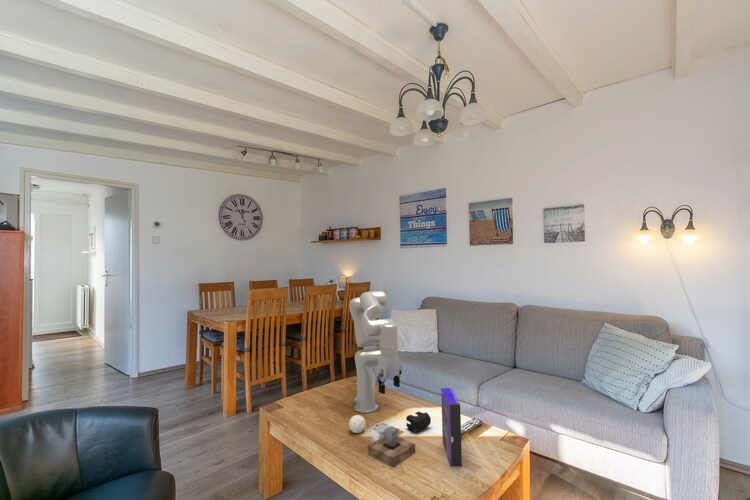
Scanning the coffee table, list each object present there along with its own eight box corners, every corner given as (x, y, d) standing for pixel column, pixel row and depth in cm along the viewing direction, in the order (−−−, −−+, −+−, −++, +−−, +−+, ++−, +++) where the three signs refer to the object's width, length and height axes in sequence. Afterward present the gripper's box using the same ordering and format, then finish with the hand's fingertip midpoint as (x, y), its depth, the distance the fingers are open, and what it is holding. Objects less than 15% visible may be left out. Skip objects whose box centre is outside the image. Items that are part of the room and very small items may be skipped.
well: (368, 454, 151) (368, 445, 151) (390, 440, 161) (390, 432, 161) (393, 467, 141) (393, 458, 141) (415, 452, 151) (415, 443, 151)
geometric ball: (360, 439, 168) (362, 430, 163) (345, 431, 170) (346, 422, 166) (367, 425, 174) (369, 416, 169) (352, 417, 176) (354, 408, 171)
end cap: (416, 435, 165) (416, 420, 165) (405, 429, 171) (405, 415, 171) (431, 428, 172) (430, 414, 172) (420, 423, 177) (420, 409, 177)
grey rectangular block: (385, 453, 151) (384, 429, 151) (391, 449, 154) (390, 425, 154) (392, 456, 148) (391, 432, 148) (398, 452, 151) (397, 428, 151)
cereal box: (442, 442, 158) (441, 388, 159) (453, 442, 158) (452, 387, 158) (449, 466, 141) (447, 404, 141) (461, 466, 141) (460, 404, 141)
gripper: (395, 345, 167) (395, 381, 168) (369, 354, 155) (369, 393, 155) (408, 348, 162) (408, 386, 163) (381, 357, 150) (382, 398, 150)
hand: (389, 389), depth 159 cm, fingers open, 9 cm apart
